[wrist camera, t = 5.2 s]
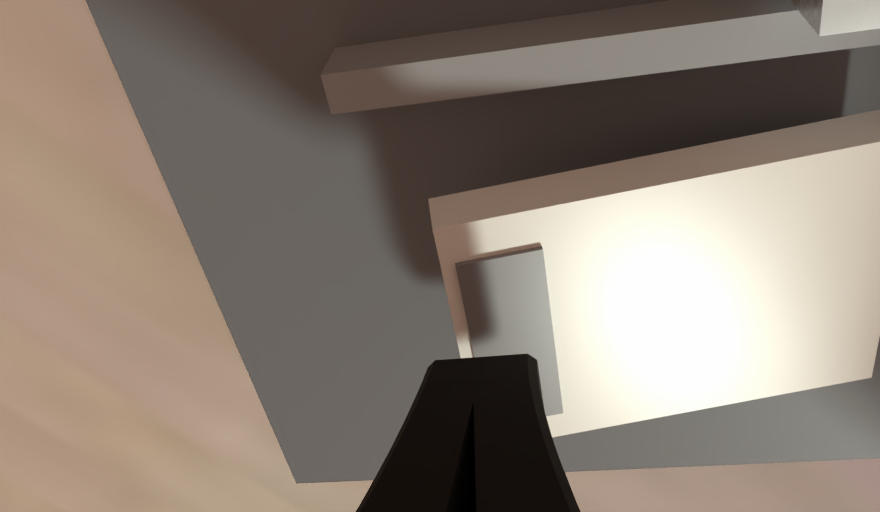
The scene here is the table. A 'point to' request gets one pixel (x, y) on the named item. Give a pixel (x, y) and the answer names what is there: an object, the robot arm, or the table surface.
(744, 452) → the control panel
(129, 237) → the table surface
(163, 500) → the table surface
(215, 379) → the table surface
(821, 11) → the pale beige block
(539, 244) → the plate
